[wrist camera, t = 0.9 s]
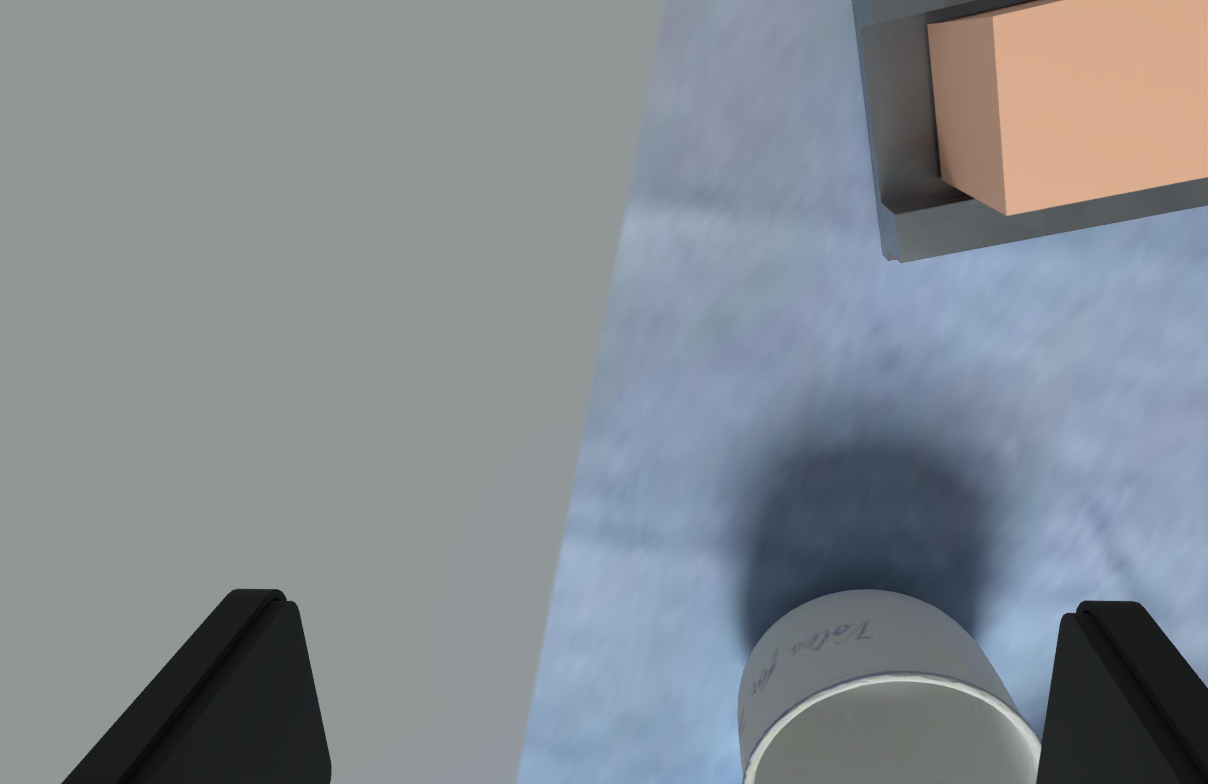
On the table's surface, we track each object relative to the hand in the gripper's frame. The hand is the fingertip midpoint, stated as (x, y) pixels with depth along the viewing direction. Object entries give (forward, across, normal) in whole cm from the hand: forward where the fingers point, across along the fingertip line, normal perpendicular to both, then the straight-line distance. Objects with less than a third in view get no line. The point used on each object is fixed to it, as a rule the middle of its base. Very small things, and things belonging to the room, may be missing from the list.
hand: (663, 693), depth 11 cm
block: (+23, -11, -6) cm, 26 cm away
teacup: (+24, -6, +19) cm, 32 cm away
